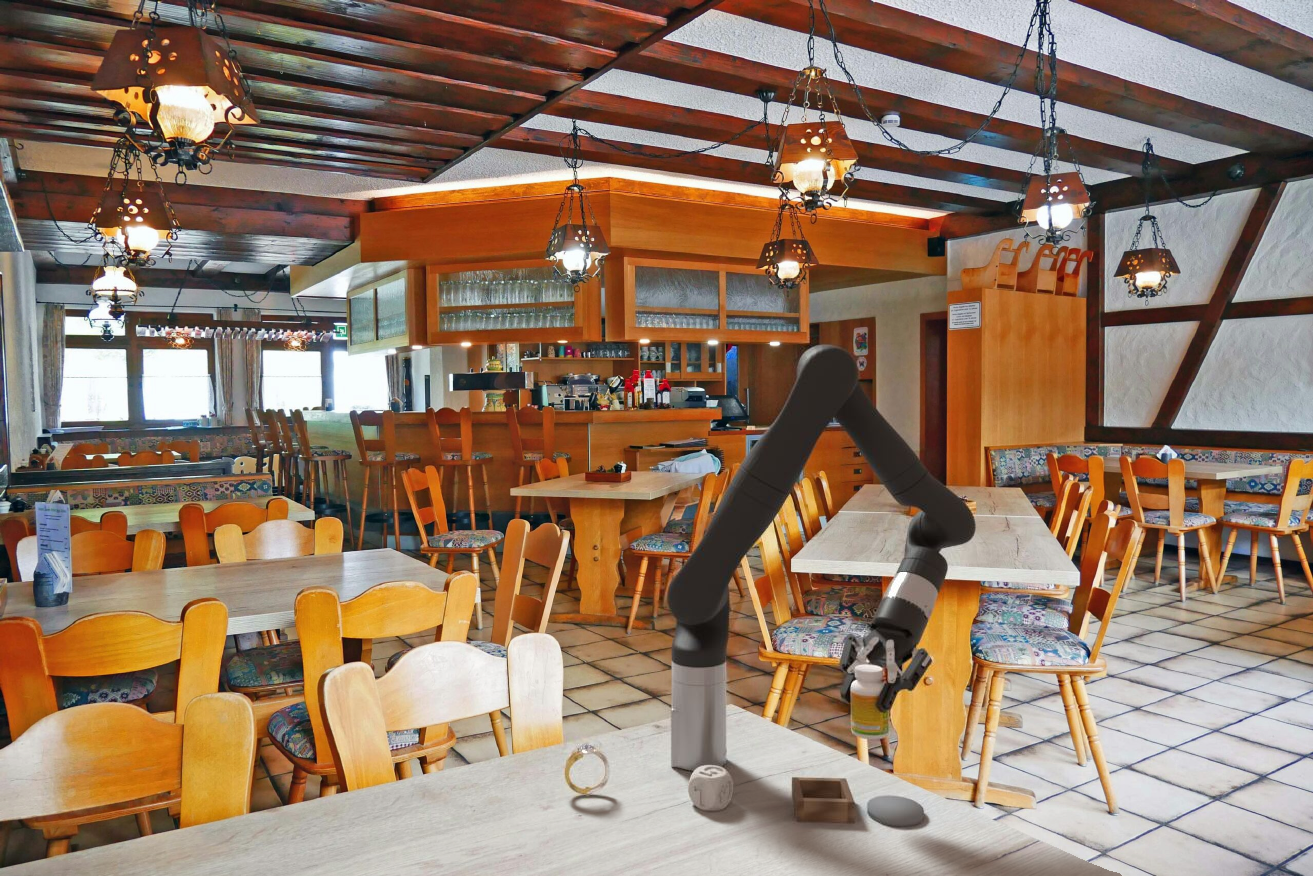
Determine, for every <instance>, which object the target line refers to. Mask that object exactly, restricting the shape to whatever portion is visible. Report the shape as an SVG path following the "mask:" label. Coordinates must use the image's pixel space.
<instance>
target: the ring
mask: <svg viewBox="0 0 1313 876" xmlns="http://www.w3.org/2000/svg"><path fill="white" fill-rule="evenodd" d="M587 755H595V756H597V757H598V758H599V759H600V760H601V761H602V763H603V764H604V768H605V772H604V776H603V777H602V778H603V779H602V780H601V781H600V782H599V783H598V784H597V785H595V786H593V787H590V786H585V787H584V788H583V787H580V786H578V785H577V784H575V783H574V782H573V781H572V779H571V776H570V770H571V768H572V766H573V765H574V764H575V763H576V762H577V761H578V760H580V759H582V758H583V757H584V756H587ZM610 773H611V766H610V760H609V759H608V757H607V755H606V754H605V753H604V752H602V750H600V749H598V748H597V744H596V743H594V744H590V742H589V741H586V742H582V743H581V745H578V746H577V745H576V746H575V747H574V749H573V751H571V752H570V754H569V756H568V757H567V760H566V762H565V766H564V779H565V782H566V784H567V786H568V787H569V788H570V789H571V790H572V791H573V792H575V793H577V794H580V795H584V796H585V797H589V796H590V795H593V794H596V793H599V792H600V791H601V790H603V788H604V787H605V786H606V785H607V783H608V781H609V779H610V775H611V774H610Z"/></svg>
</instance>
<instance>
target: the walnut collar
mask: <svg viewBox="0 0 1313 876" xmlns="http://www.w3.org/2000/svg"><path fill="white" fill-rule="evenodd" d="M851 791H852V790H851V789H850V786H849V783H848V781H847V778H844V777H843V778H842V777H840V778H839V777H806V776H805V777H803V776H802V777H798V776H796V777H794V776H793V777H791V799H792V805H793V809H794V814H795V818H796V822H810V823H811V822H813V823H814V822H815V823H817V822H818V823H849V824H850V823H851V824H853V823H855V821H856V820H855V812H856V811H855V808H856V807H855V800H854V796H853V794H852V792H851Z"/></svg>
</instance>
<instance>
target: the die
mask: <svg viewBox="0 0 1313 876" xmlns="http://www.w3.org/2000/svg"><path fill="white" fill-rule="evenodd" d="M687 786H688V787H687V792H688V795H689V798H690V799H689V800H691V803H692V804H693V805H694V806H695V807H696V808H698V809H699V810H702V811H705V812H706V811H707V812H716V811H721V810H723V809H725V808H726V807H727V806H728V805H729V804H730V803H731V802H730V801H731V799H732V796H733V793H734V792H733V791H734V781H733V778H732V776H731V774H730V773H729V771H727V769H725V768H724V767H723V766H722V767H720V766H716V765H704V766H700V767H698V768H697V769H695V770H694V771H692V774H691V775H690V778H689V782H688V785H687Z"/></svg>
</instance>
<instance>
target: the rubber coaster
mask: <svg viewBox="0 0 1313 876" xmlns="http://www.w3.org/2000/svg"><path fill="white" fill-rule="evenodd" d="M866 805H867V807H866V808H867V809H866V811H867V812H866V813H867V815H868V816H869V818H871V819H872V820H873V821H876V822H877V823H880V824H882V825H886V826H890V827H898V828H908V827H914V826H917V825H919V824H921V823H922V822H923V821H924V819H925V817H924V816H925V810H924V807H923V806H922V805H921V804H920V803H919V802H917V801H915V800H913V799H911V798H909V797H904V796H899V795H889V794H888V795H880V796H879V795H878V796H875V797H873V798H870V799H869V800H868V802H867V803H866Z"/></svg>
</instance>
